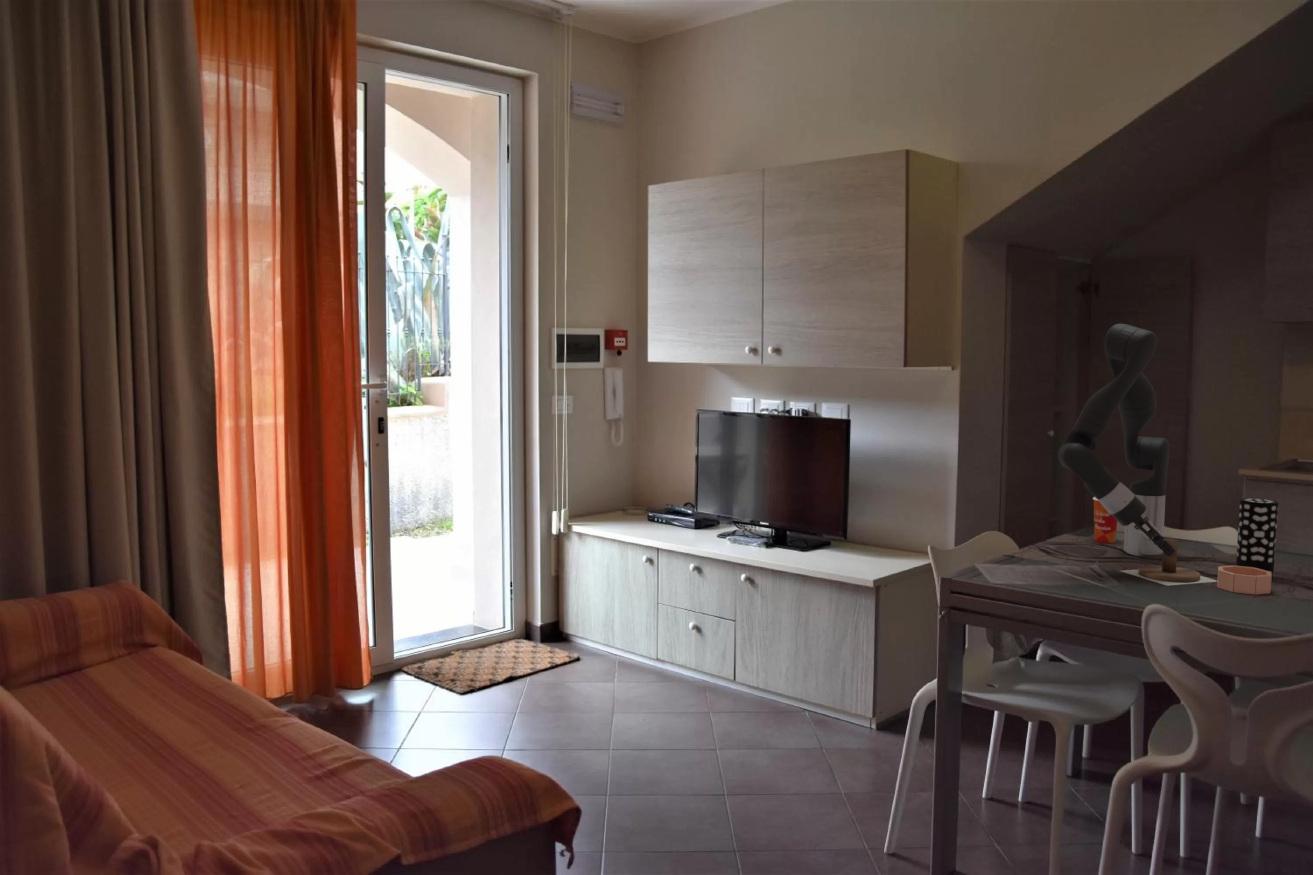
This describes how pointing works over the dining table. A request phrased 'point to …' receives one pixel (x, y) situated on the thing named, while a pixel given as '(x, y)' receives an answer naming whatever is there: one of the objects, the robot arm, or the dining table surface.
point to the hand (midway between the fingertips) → (1168, 550)
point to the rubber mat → (1202, 580)
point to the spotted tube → (1257, 533)
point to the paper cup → (1103, 524)
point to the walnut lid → (1169, 569)
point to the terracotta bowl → (1244, 580)
